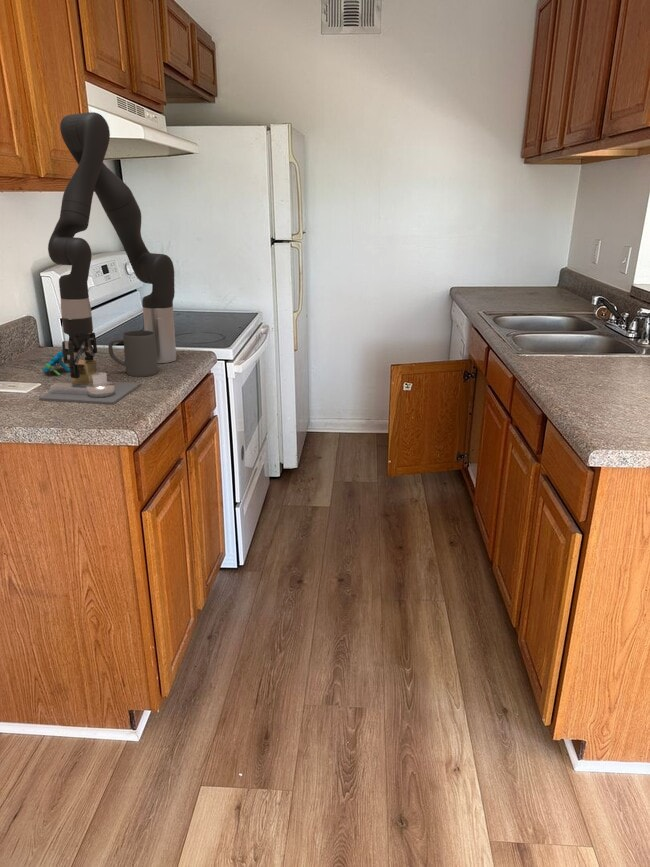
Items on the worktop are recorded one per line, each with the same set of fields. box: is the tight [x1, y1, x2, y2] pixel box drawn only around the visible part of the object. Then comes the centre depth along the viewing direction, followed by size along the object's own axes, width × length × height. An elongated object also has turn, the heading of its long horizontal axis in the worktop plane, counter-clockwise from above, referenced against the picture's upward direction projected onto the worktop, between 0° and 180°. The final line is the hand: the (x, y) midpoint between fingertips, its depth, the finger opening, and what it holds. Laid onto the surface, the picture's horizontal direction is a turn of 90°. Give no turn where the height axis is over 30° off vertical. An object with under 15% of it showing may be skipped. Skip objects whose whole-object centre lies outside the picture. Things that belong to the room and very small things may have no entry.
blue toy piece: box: [42, 348, 70, 376], centre depth 190 cm, size 11×6×10 cm
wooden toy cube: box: [70, 359, 98, 384], centre depth 176 cm, size 5×5×6 cm
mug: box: [108, 329, 159, 378], centre depth 189 cm, size 14×9×12 cm
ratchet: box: [49, 371, 115, 398], centre depth 168 cm, size 7×16×6 cm, turn 83°
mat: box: [38, 380, 142, 405], centre depth 171 cm, size 18×20×1 cm
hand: (83, 374), depth 176 cm, fingers open, 8 cm apart
